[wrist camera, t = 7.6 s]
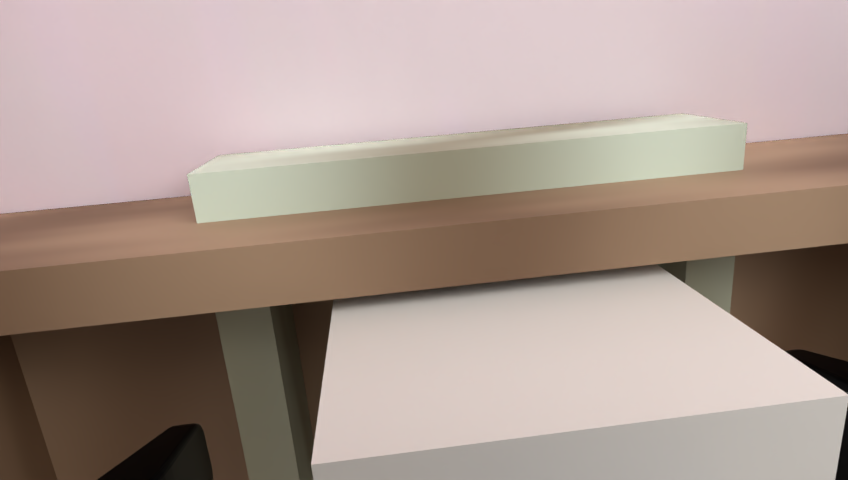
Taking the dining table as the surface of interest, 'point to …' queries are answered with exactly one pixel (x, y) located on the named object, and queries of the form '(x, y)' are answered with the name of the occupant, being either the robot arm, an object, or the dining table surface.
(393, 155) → the box
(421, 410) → the plug
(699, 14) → the dining table surface
